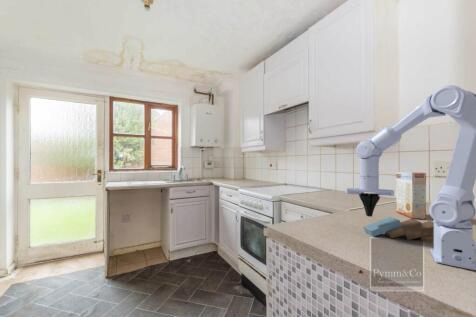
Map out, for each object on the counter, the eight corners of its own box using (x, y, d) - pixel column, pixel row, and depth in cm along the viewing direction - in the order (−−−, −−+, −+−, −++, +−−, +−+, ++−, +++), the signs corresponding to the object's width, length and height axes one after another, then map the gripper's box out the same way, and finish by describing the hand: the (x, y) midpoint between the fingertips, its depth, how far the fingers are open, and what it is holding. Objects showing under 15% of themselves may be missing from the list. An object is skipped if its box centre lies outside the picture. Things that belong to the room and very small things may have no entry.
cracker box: (427, 219, 97) (427, 172, 97) (411, 219, 98) (411, 172, 98) (409, 212, 110) (409, 171, 111) (395, 212, 112) (395, 171, 112)
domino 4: (413, 237, 74) (449, 240, 72) (422, 242, 69) (460, 246, 67) (414, 231, 74) (449, 234, 72) (422, 236, 69) (460, 239, 67)
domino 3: (400, 234, 75) (432, 226, 73) (407, 239, 70) (442, 231, 68) (398, 229, 75) (429, 221, 73) (405, 233, 71) (439, 225, 68)
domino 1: (370, 231, 73) (399, 220, 72) (363, 226, 78) (390, 216, 77) (373, 236, 73) (402, 226, 72) (365, 232, 78) (392, 222, 77)
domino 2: (385, 233, 76) (415, 224, 74) (391, 238, 71) (424, 228, 69) (382, 228, 76) (412, 218, 74) (388, 232, 72) (421, 222, 70)
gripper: (388, 176, 78) (388, 214, 77) (343, 175, 81) (343, 211, 81) (397, 177, 71) (397, 219, 71) (348, 176, 75) (348, 216, 74)
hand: (369, 215), depth 75 cm, fingers closed
